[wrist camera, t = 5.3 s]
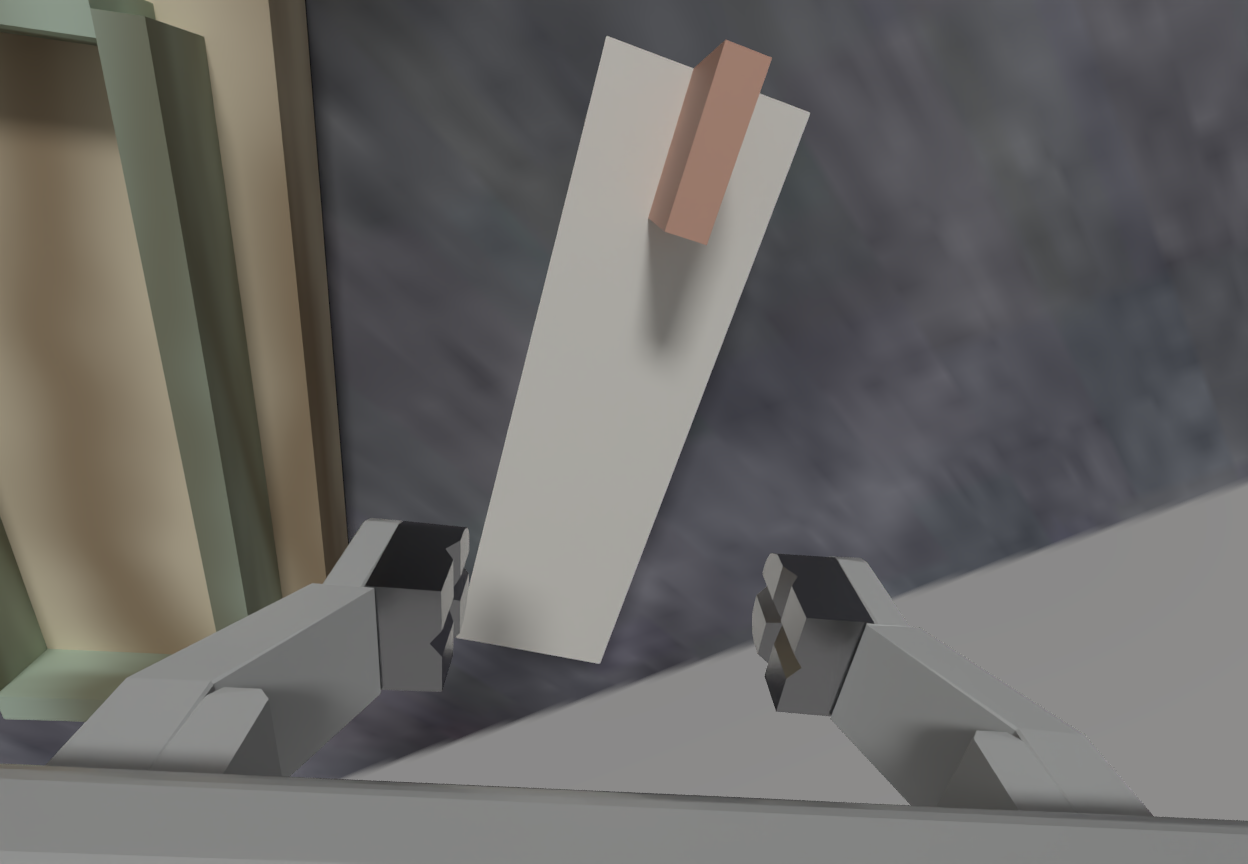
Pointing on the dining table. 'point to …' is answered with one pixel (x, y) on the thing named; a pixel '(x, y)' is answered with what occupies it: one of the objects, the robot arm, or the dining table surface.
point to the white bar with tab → (626, 337)
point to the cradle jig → (156, 337)
